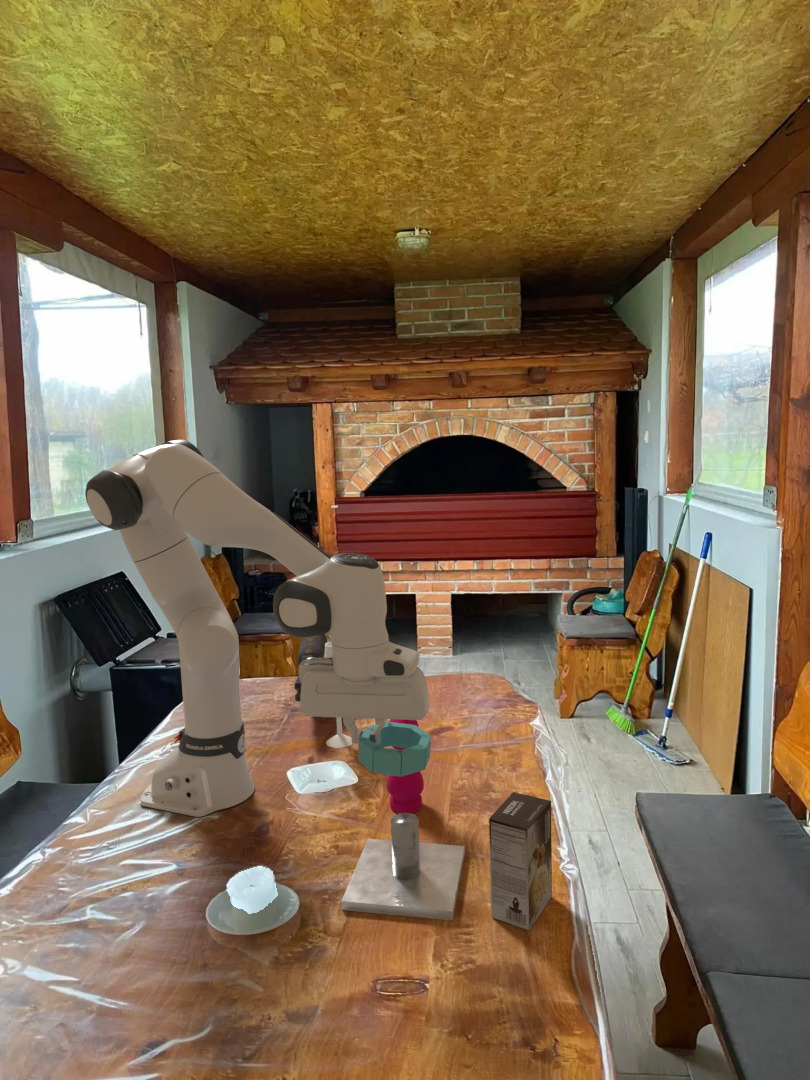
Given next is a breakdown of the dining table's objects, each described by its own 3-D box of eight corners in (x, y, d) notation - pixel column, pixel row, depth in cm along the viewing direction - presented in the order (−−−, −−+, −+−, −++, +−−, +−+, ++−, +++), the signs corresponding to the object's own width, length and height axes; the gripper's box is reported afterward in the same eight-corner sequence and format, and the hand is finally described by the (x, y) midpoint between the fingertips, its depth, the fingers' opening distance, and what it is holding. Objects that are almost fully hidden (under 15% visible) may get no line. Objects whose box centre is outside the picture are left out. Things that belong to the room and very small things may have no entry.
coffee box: (514, 884, 113) (513, 789, 111) (553, 896, 109) (552, 799, 107) (489, 918, 105) (488, 817, 103) (530, 932, 102) (529, 828, 99)
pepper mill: (420, 817, 134) (417, 715, 131) (383, 814, 135) (379, 714, 132) (427, 797, 141) (424, 701, 138) (391, 795, 142) (388, 699, 139)
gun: (331, 695, 199) (327, 625, 196) (317, 737, 171) (312, 657, 168) (306, 695, 199) (302, 626, 196) (289, 738, 171) (284, 658, 168)
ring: (352, 769, 107) (353, 748, 107) (370, 739, 117) (370, 719, 117) (421, 779, 105) (422, 757, 104) (433, 747, 115) (434, 727, 115)
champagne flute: (359, 742, 167) (355, 644, 164) (334, 750, 164) (329, 649, 160) (345, 733, 173) (340, 638, 169) (320, 740, 169) (315, 643, 166)
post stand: (341, 910, 108) (338, 846, 107) (368, 846, 125) (365, 790, 123) (452, 920, 105) (450, 855, 103) (464, 854, 121) (463, 796, 120)
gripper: (290, 663, 109) (297, 748, 111) (421, 665, 104) (426, 754, 107) (304, 651, 115) (310, 731, 117) (428, 652, 111) (433, 736, 113)
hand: (366, 742), depth 112 cm, fingers closed on ring
